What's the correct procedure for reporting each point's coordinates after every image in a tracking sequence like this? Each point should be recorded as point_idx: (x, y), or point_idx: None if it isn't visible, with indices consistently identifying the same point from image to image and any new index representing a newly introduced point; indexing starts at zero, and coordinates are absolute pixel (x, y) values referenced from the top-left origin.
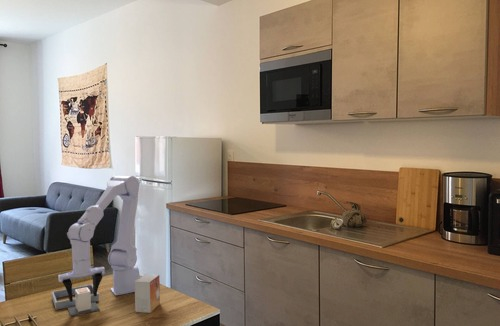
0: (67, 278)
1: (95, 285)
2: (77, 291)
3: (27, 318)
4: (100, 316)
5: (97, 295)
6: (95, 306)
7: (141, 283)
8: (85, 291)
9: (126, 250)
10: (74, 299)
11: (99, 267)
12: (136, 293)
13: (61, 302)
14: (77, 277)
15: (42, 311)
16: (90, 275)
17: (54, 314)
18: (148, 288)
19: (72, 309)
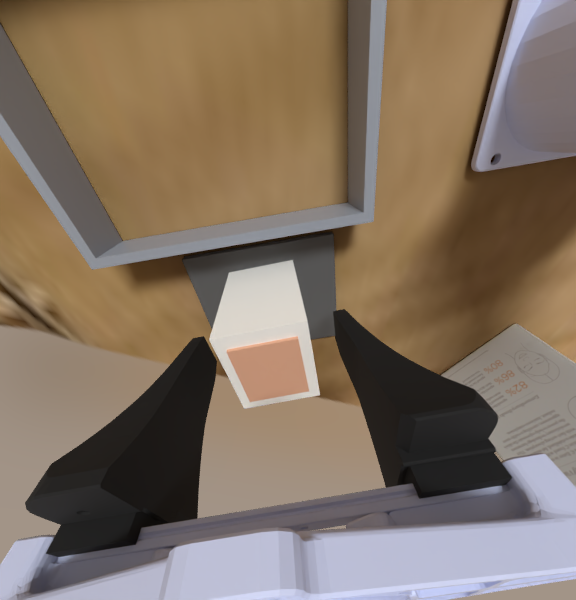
0: (120, 561)
1: (365, 413)
2: (236, 376)
3: (7, 305)
4: (329, 372)
5: (362, 220)
6: (325, 304)
7: None
8: (290, 394)
9: None
10: (211, 247)
11: (573, 571)
12: (494, 446)
13: (131, 260)
14: (226, 528)
15: (38, 242)
16: (365, 501)
17: (138, 304)
18: None
19: (218, 301)
